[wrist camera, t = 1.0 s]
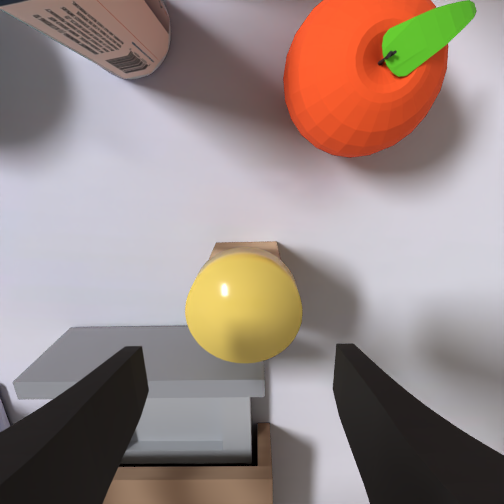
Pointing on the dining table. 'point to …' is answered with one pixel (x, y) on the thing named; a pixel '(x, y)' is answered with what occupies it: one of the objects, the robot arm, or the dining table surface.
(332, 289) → the dining table surface
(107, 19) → the beer can
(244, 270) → the yellow flat dome
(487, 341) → the dining table surface
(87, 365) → the tray
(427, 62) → the clementine
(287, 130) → the dining table surface
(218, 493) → the housing
